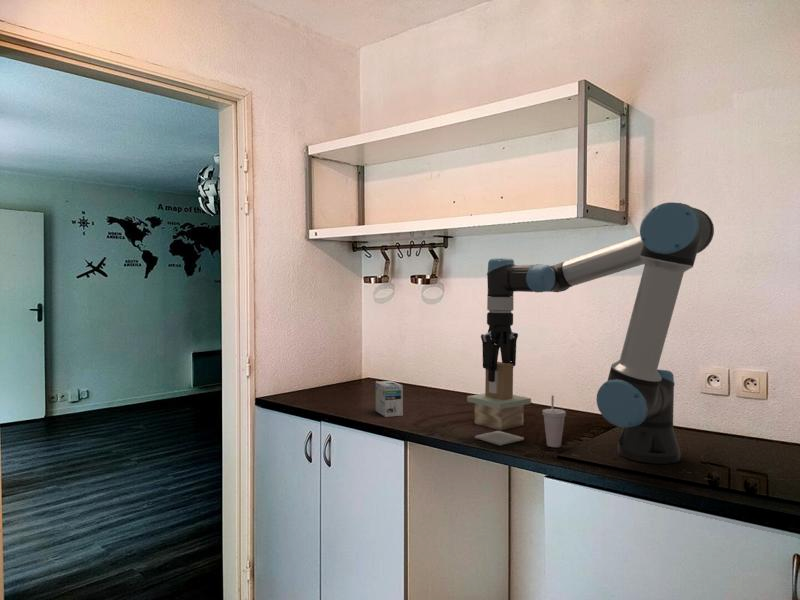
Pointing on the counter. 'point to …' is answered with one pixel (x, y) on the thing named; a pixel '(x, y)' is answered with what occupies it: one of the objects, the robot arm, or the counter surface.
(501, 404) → the lid
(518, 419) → the box
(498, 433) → the mat
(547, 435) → the smoothie
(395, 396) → the light bulb box
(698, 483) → the counter surface
